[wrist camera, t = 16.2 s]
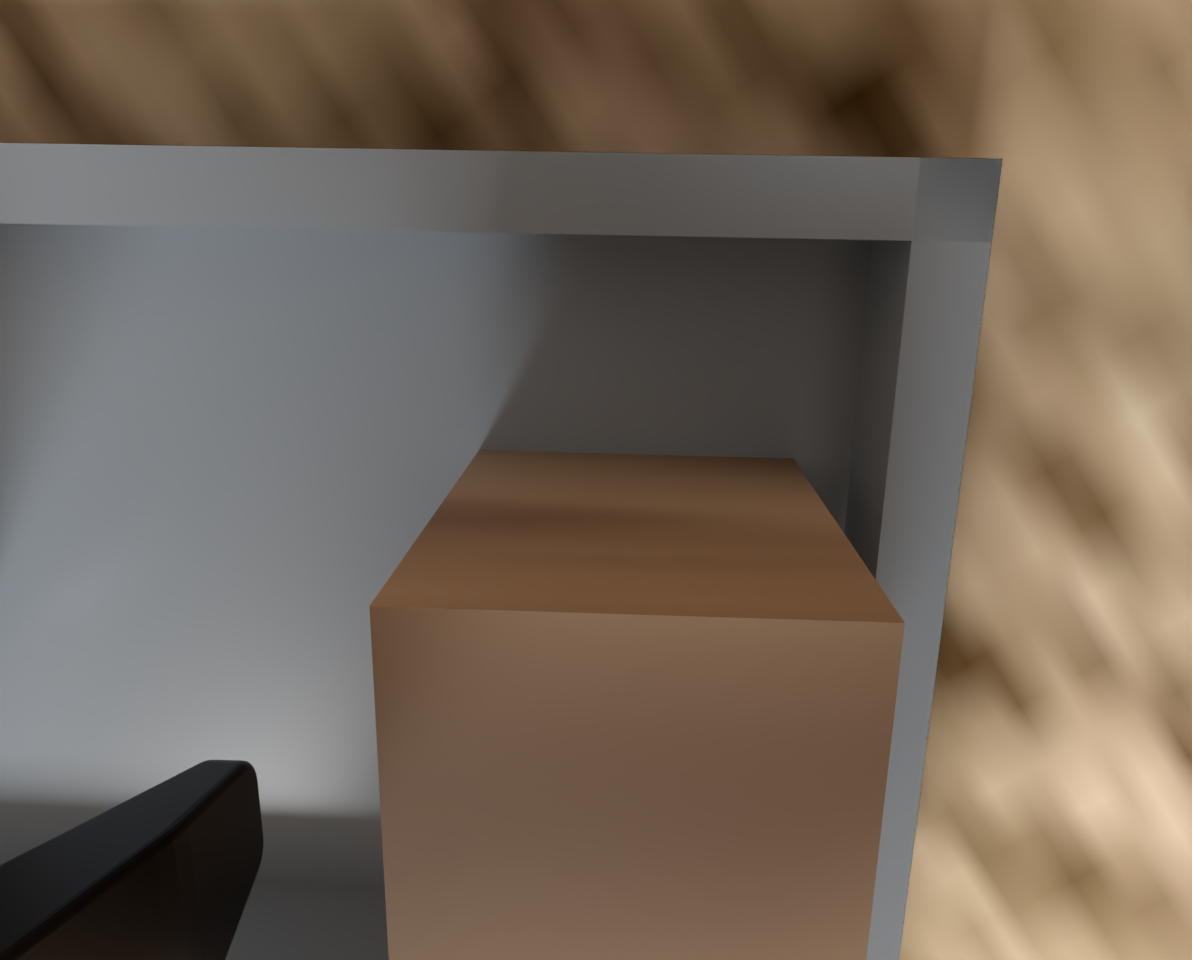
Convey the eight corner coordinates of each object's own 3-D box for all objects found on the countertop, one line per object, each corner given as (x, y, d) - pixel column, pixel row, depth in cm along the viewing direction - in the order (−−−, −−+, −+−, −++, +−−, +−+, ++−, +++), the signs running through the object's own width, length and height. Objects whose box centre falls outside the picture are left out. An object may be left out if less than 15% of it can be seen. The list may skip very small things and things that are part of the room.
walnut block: (771, 739, 13) (855, 1053, 8) (483, 728, 13) (392, 1031, 8) (792, 458, 12) (904, 623, 7) (478, 450, 12) (369, 607, 7)
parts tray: (850, 923, 14) (888, 1046, 12) (-277, 871, 15) (-430, 980, 13) (932, 171, 11) (1002, 158, 9) (-480, 148, 12) (-724, 131, 10)
